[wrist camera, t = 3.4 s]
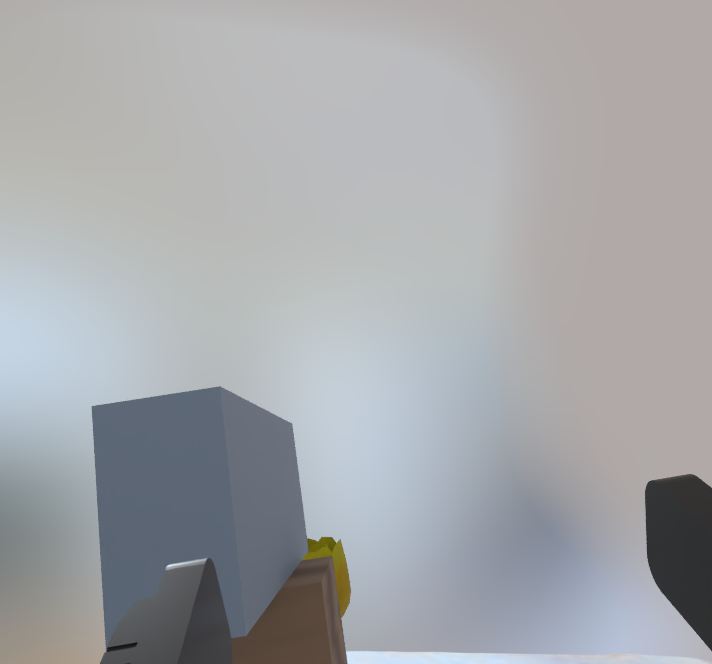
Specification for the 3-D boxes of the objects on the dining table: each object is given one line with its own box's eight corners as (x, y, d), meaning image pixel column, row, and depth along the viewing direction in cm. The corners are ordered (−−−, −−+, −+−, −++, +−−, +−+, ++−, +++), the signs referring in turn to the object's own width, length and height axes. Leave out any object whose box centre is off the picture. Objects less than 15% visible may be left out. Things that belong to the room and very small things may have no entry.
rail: (246, 636, 22) (219, 386, 24) (106, 658, 22) (91, 406, 24) (308, 551, 43) (292, 423, 45) (238, 561, 43) (225, 434, 45)
